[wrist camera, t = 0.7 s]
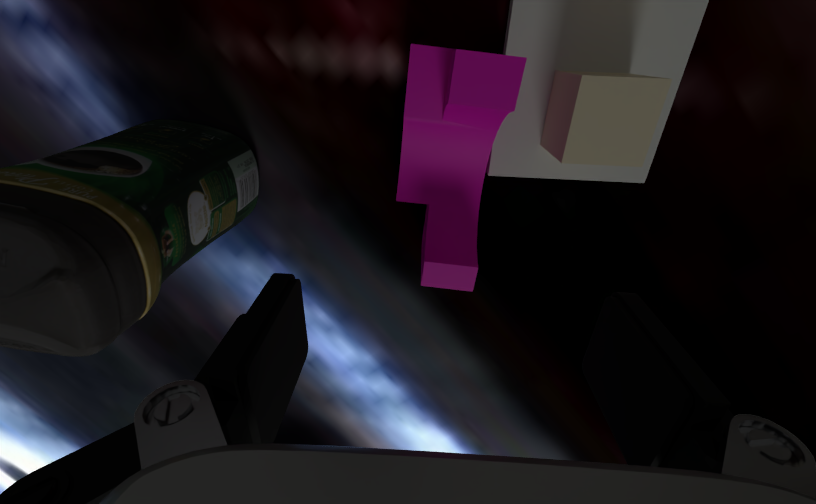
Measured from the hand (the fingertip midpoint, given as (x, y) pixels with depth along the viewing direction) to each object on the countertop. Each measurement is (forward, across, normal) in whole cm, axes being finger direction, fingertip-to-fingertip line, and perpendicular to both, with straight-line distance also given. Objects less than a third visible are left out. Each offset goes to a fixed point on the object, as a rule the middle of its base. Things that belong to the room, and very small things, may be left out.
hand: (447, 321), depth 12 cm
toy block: (+21, -1, 0) cm, 21 cm away
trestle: (+20, -10, -9) cm, 24 cm away
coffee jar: (+21, +19, +2) cm, 28 cm away
